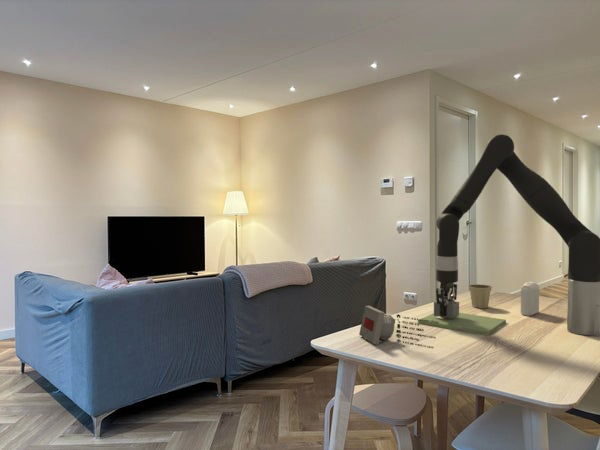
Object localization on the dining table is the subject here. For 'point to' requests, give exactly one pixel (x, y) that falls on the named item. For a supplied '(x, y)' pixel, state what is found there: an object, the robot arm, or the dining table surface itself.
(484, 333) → the board
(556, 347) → the dining table surface
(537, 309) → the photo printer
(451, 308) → the block
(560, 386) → the dining table surface
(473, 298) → the flower pot
